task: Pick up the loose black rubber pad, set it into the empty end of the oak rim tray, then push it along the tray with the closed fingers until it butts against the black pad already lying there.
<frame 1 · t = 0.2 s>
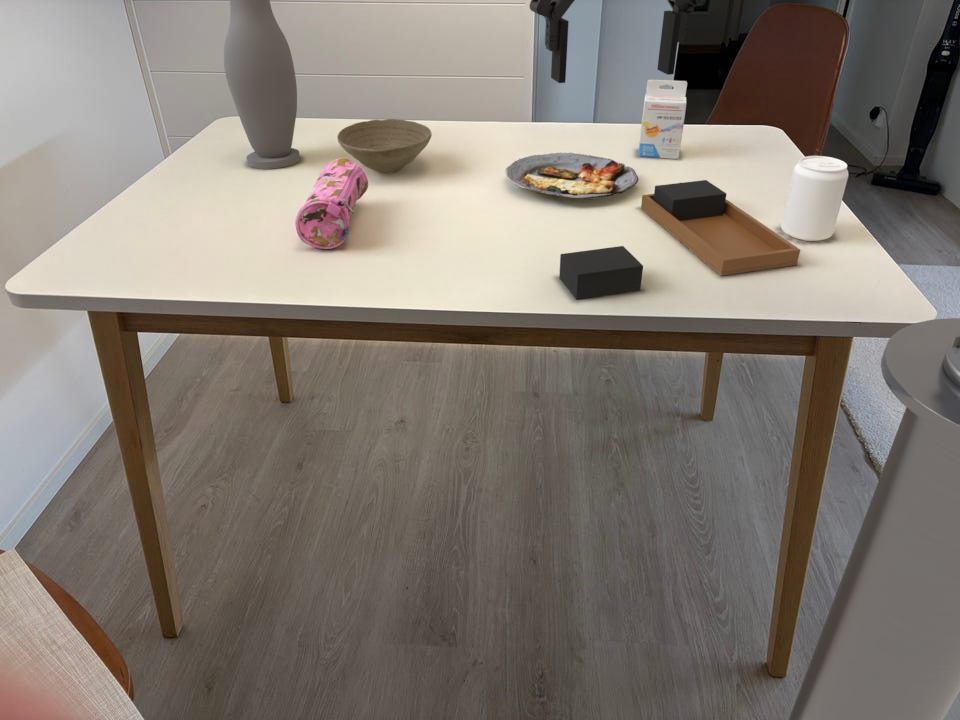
hand: (612, 76, 88), 31 cm above the table, tool pointing down, fingers open, 13 cm apart
bowl: (387, 171, 154), on the table
black pad: (599, 284, 111), on the table
tray: (712, 234, 126), on the table
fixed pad: (687, 211, 133), resting on tray
vase: (274, 162, 159), on the table
pencil case: (337, 226, 131), on the table
ink box: (658, 155, 160), on the table
beverage can: (805, 234, 126), on the table
food plate: (571, 185, 146), on the table
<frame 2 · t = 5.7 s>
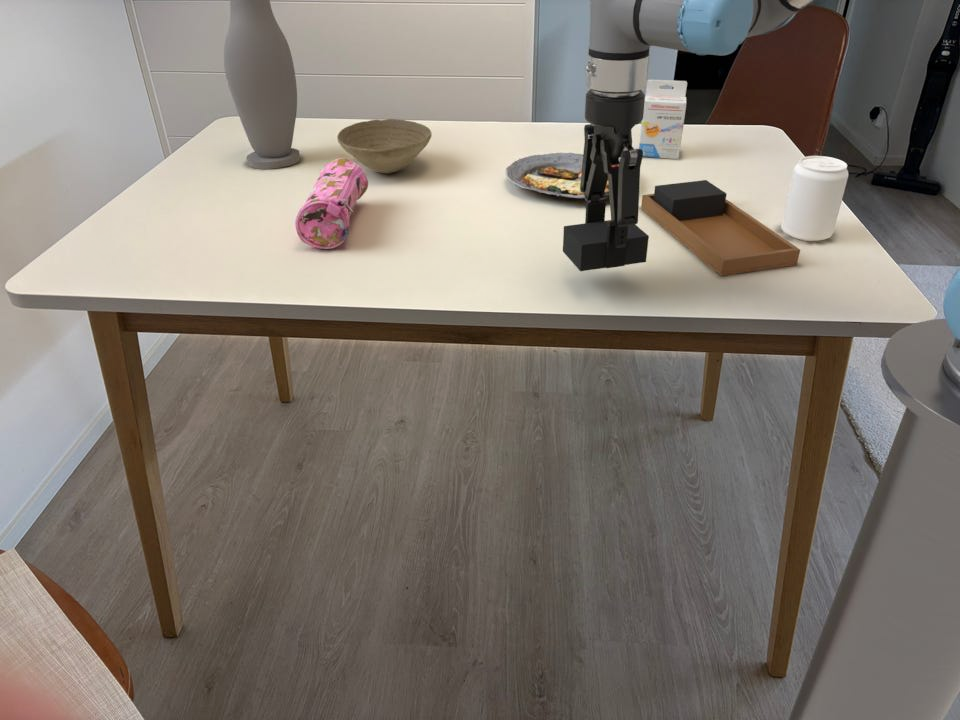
hand: (603, 254, 108), 5 cm above the table, tool pointing down, fingers closed on black pad, 7 cm apart
black pad: (603, 256, 109), point 5 cm above the table, touching gripper
everything else where it was.
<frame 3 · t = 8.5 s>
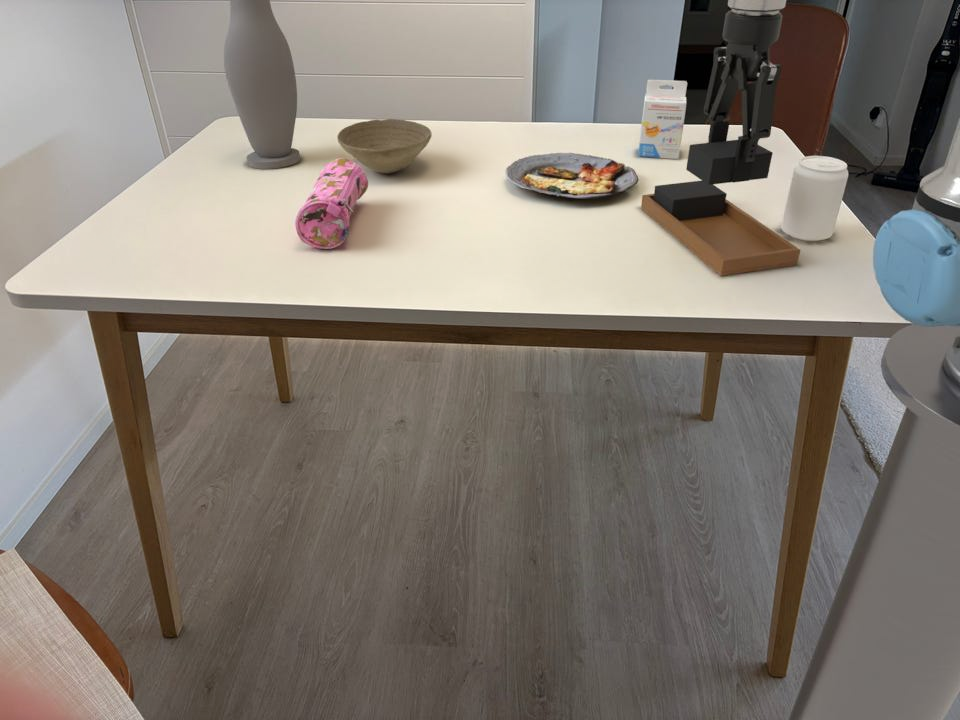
hand: (726, 172, 116), 12 cm above the table, tool pointing down, fingers closed on black pad, 7 cm apart
black pad: (726, 173, 117), point 12 cm above the table, touching gripper
everything else where it was.
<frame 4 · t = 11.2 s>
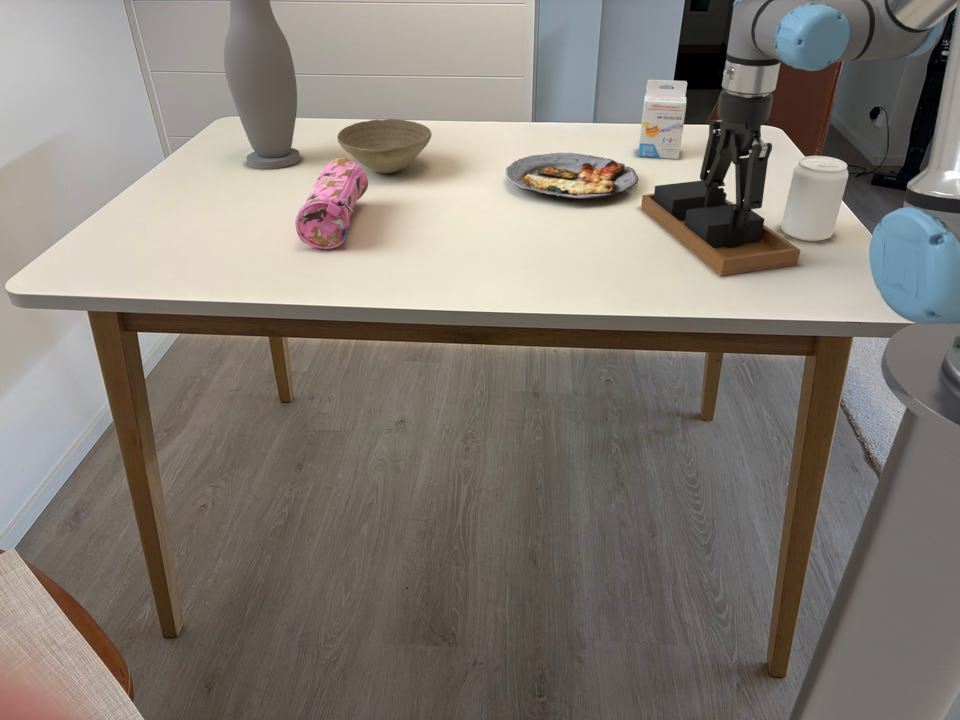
hand: (721, 235, 123), 1 cm above the table, tool pointing down, fingers closed on black pad, 7 cm apart
black pad: (721, 237, 123), point 1 cm above the table, touching gripper, tray
everything else where it was.
when the fingers open (1 cm above the table, at t = 11.3 s): black pad stays where it is, resting on tray.
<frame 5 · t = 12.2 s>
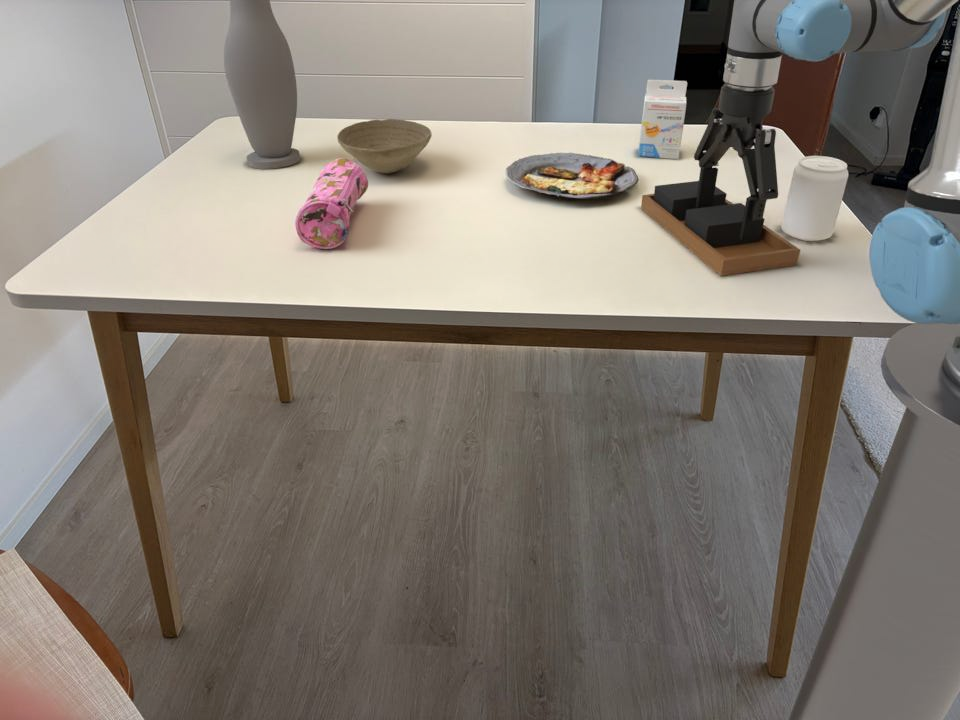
hand: (725, 221, 121), 3 cm above the table, tool pointing down, fingers open, 13 cm apart
black pad: (720, 237, 123), point 1 cm above the table, touching tray
everything else where it was.
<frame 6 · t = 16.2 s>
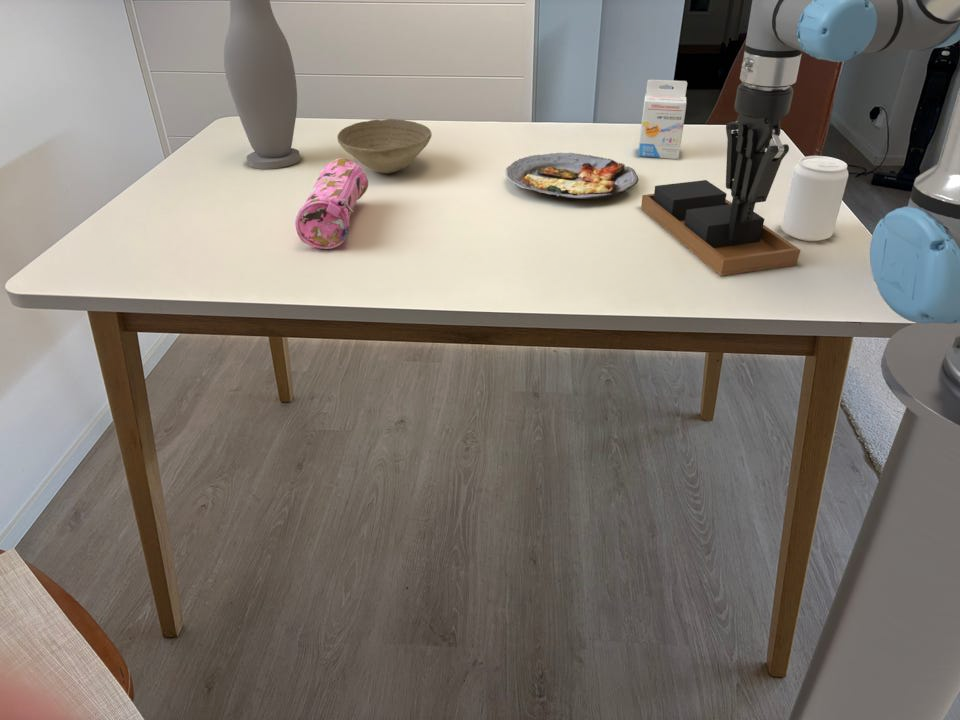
hand: (736, 238, 119), 2 cm above the table, tool pointing down, fingers closed
black pad: (720, 237, 123), point 1 cm above the table, touching gripper, tray
everything else where it was.
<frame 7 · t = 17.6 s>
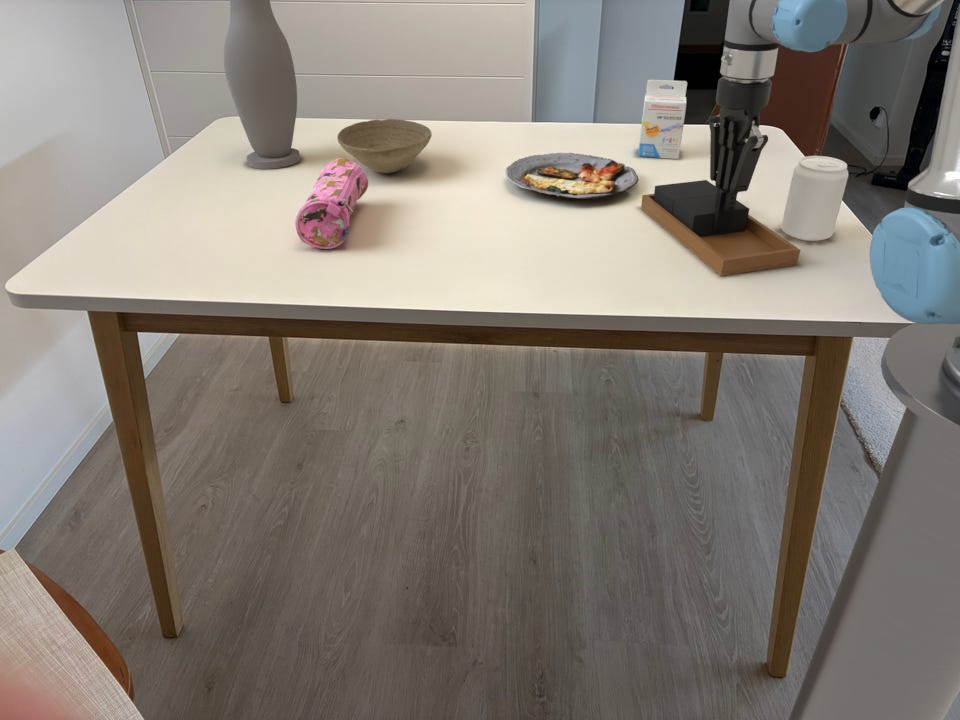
hand: (721, 228, 123), 2 cm above the table, tool pointing down, fingers closed
black pad: (707, 226, 127), point 1 cm above the table, touching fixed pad, gripper, tray
everything else where it was.
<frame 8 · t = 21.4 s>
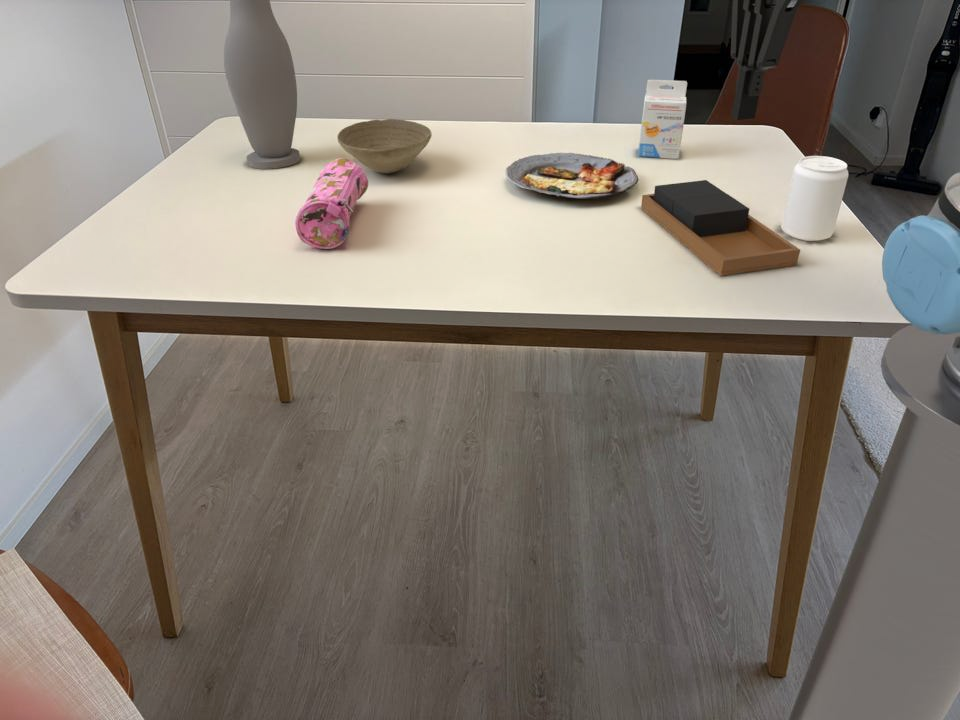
hand: (743, 117, 104), 22 cm above the table, tool pointing down, fingers closed
black pad: (707, 226, 127), point 1 cm above the table, touching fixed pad, tray
everything else where it was.
at the end: black pad touching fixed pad, tray; black pad 0.1 cm from the target spot in the tray, point 0.6 cm above the tray's base; the gripper is holding nothing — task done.
